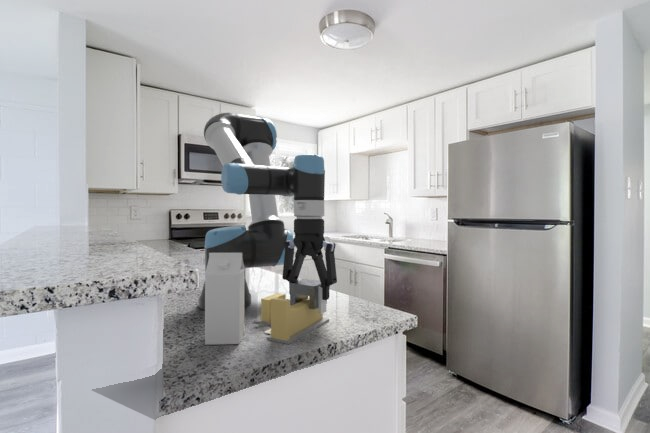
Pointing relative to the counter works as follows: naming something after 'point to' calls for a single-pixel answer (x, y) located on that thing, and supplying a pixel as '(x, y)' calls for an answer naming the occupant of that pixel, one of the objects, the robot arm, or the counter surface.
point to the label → (268, 331)
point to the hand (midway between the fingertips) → (308, 310)
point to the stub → (267, 309)
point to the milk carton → (224, 298)
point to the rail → (292, 320)
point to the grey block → (305, 292)
